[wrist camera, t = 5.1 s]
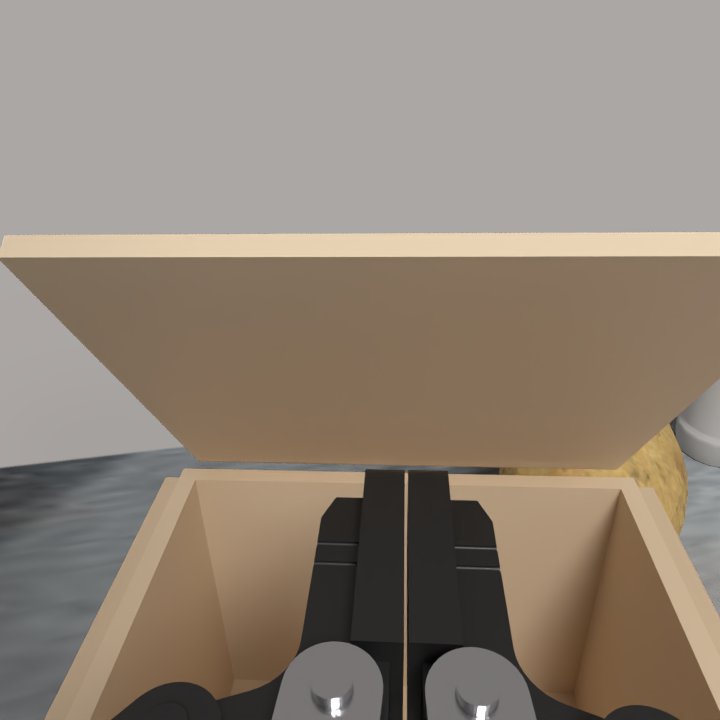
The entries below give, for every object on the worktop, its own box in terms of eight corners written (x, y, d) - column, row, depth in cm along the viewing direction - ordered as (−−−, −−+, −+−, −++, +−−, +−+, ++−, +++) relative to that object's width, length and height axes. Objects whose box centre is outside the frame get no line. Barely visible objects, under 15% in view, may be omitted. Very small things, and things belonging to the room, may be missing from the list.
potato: (436, 559, 35) (443, 415, 30) (571, 443, 43) (593, 319, 39) (610, 679, 28) (653, 521, 24) (728, 516, 37) (776, 376, 32)
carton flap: (-3, 257, 12) (4, 235, 12) (199, 461, 23) (201, 448, 23) (858, 255, 11) (849, 231, 11) (616, 469, 22) (614, 456, 23)
